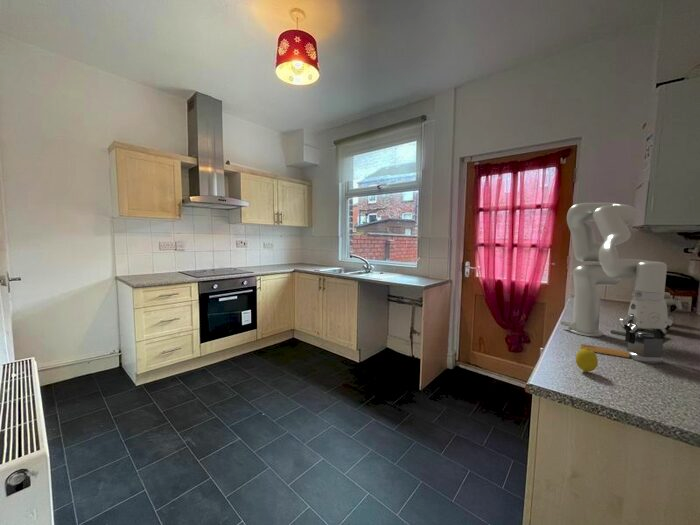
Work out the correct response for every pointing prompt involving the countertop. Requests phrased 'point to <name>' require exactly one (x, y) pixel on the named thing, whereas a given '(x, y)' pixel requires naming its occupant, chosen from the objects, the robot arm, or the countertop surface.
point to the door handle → (634, 332)
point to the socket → (646, 345)
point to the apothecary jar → (668, 302)
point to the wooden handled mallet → (623, 354)
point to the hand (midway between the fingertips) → (643, 342)
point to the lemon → (586, 360)
